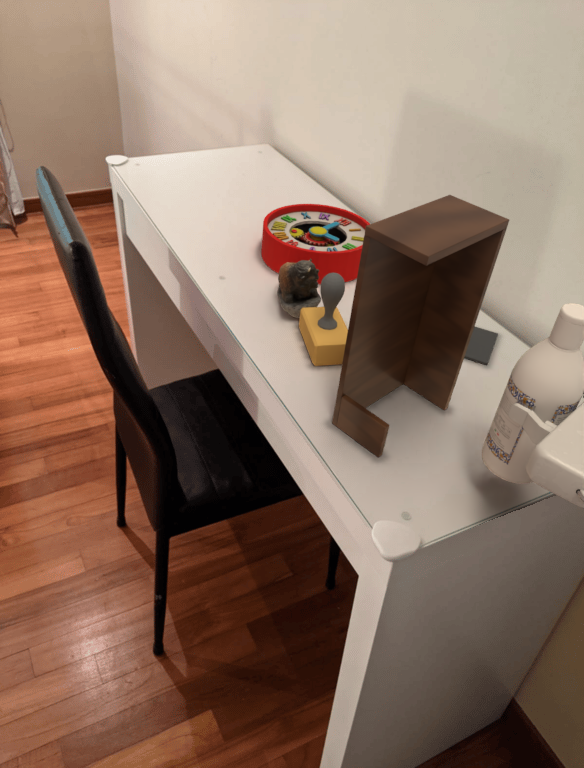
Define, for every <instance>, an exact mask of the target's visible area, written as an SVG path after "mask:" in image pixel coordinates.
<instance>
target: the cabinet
mask: <svg viewBox="0 0 584 768" xmlns="http://www.w3.org/2000/svg"><path fill="white" fill-rule="evenodd" d="M509 222H510V219H509V218H507V217H505V216H502V215H500V214H498V213H495V212H493V211H490V210H487V209H485V208H483V207H481V206H479V205H475V204H474V203H471V202H469V201H466V200H463V199H462V198H459V197H456V196H455V195H451V194H448V195H445V196H442V197H440V198H437V199H434V200H431V201H429V202H426V203H424V204H421V205H418V206H416V207H413V208H410V209H407V210H405V211H402V212H400V213H397V214H393V215H391V216H388V217H386V218H384V219H380V220H378V221H375V222H373V223H370V225H367V226H366V229H365V235H364V240H363V246H362V252H361V257H360V263H359V269H358V275H357V279H356V282H355V287H354V292H353V299H352V305H351V310H350V316H349V320H348V321H349V322H348V326H347V329H348V333H347V339H346V345H345V350H344V356H343V362H342V364H341V369H340V375H339V380H338V386H337V390H336V391H337V392H336V399H335V403H334V410H333V415H332V422H331V424H332V425H333V426H335V427H336V428H337V429H339V430H341V431H342V432H344V433H345V434H346V435H347V436H348V437H350V438H351V439H352V440H353V441H355V442H357V443H358V444H359V445H361V446H362V447H363V448H364V449H366V450H367V451H369V452H370V453H371V454H373V456H375V457H376V458H380V457H382V456H383V453H384V449H385V445H386V441H387V438H388V433H389V430H390V424H389V423H387V422H386V421H385V420H383V419H382V418H381V417H379V416H378V415H376V414H374V412H372V411H371V410H370V409H368V407H369V406H371V405H373V404H374V403H375V402H377V401H379V400H380V399H382V398H384V397H385V396H387V395H388V394H390V393H391V392H393V391H394V390H396V389H398V388H400V387H401V386H403V385H404V386H406V387H408V388H409V389H410V390H412V391H414V392H415V393H416V394H418V395H420V396H422V397H423V398H424V399H425V400H428V402H430V403H432V404H434V405H435V406H437V407H438V408H440V409H441V410H443V411H445V410H447V409H448V408H449V405H450V402H451V399H452V396H453V393H454V390H455V387H456V384H457V380H458V377H459V374H460V371H461V370H462V369H461V368H462V365H463V363H464V359H465V358H464V357H465V354H466V351H467V348H468V345H469V342H470V338H471V335H472V332H473V329H474V326H475V327H476V323H477V320H478V317H479V314H480V311H481V308H482V305H483V301H484V299H485V297H486V293H487V290H488V287H489V283H490V281H491V278H492V276H493V275H492V274H493V272H494V268H495V265H496V263H497V259H498V257H499V253H500V250H501V248H502V244H503V241H504V239H505V236H506V232H507V229H508V227H509Z"/></svg>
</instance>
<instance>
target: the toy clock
mask: <svg viewBox="0 0 584 768" xmlns="http://www.w3.org/2000/svg"><path fill="white" fill-rule="evenodd" d="M370 224H371V223H370V222H369V221H368V220H367V219H365V218H364V217H362V216H361V215H359V214H356V213H355V212H353V211H350V210H347V209H344V208H342V207H341V208H340V207H337V206H332V205H328V204H319V203H296V204H288V205H284V206H281V207H277V208H276V209H273V210H271V211H270V212H268V213H267V214H266V216H264V217H263V222H262V233H261V234H262V236H261V249H260V250H261V251H260V252H261V259H262V261H263V262H264V264H265V265H266V266H267V267H268V268H269V269H270V270H272V271H273V272H275V273H277V274H278V275H279V271H280V268H281V266H282V265H283V264H285V263H287V262H289V263H297V262H299V261H301V260H307V261H309V260H310V259H312V261H311V262H312V263H313V264H314V265H315V268H316V269H318V270H319V273H318V276H319V279H318V280H317V282H318V285H321V281H322V279H323V278H324V277H325V276H326V275H327V274H329V273H338V274H340V275H341V276H342V277H343V279H344V281H345V283H348V282H351V281H355V280H357V275H358V269H359V263H360V257H361V252H362V246H363V240H364V235H365V229H366V226H367V225H370Z"/></svg>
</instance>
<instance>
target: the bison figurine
mask: <svg viewBox="0 0 584 768" xmlns="http://www.w3.org/2000/svg"><path fill="white" fill-rule="evenodd" d="M311 261H312V259H310V260H309V261H307V260H301V261H299V262H297V263H289V262H287V263H285V264H283V265H282V266H281V268H280V271H279V274H278V277H277V280H278V288H277V297H278V299H279V303H280V306H281V308H282V309H283V311H284V312H286V313H287V314H288V315H290V316H291V317H292V318H300V311H301V309H302V308H307V307H319V304H320V303H321V301H322V298H321V294H319V292H318V288H319V284H318V282H317V280H318V279H319V276H318V273H319V270H318V269H316V268H315V265H314V264H313V263H312V262H311Z"/></svg>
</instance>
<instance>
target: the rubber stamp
mask: <svg viewBox="0 0 584 768" xmlns="http://www.w3.org/2000/svg"><path fill="white" fill-rule="evenodd" d="M319 291H320V297H321V301H322V304H323V306H317V307H307V308H302V309H301V311H300V317H299V319H298V320H299V321H298V329H299V331H300V334H301V336H302V339H303V341H304V344H305V346H306V350H307V352H308V355H309V358H310V360H311V363H312V365H314V366H315V367H318V366H319V367H321V366H336V365H342V362H343V356H344V350H345V345H346V339H347V333H348V326H347V324H346V322H345V321H344V318H343V316H342V314H341V312H340V310H339V308H338V305H339V304H340V302H341V301H342V299H343V297H344V294H345V292H346V282H345V281H344V279H343V277H342V276H341V275H340V274H338V273H329V274H327V275H326V276H325V277H324V278H323V279H322V281H321V284H320V290H319Z"/></svg>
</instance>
